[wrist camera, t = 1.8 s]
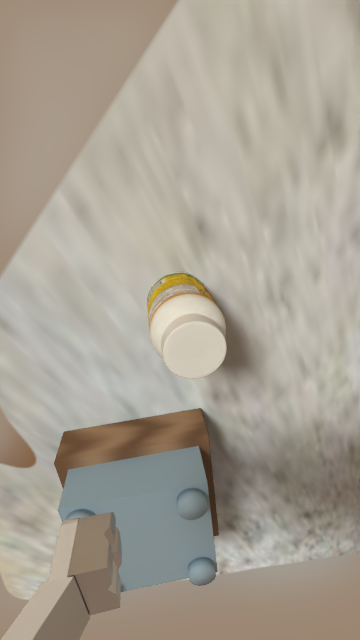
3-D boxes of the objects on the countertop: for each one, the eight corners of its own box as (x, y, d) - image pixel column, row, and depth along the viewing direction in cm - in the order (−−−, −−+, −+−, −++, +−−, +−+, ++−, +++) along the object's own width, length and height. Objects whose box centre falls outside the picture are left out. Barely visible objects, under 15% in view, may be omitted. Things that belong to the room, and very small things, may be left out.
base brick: (200, 408, 33) (208, 435, 29) (211, 502, 38) (218, 535, 35) (63, 431, 32) (54, 463, 28) (94, 524, 38) (89, 561, 34)
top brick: (198, 445, 30) (209, 492, 25) (208, 530, 34) (219, 583, 30) (68, 469, 29) (55, 522, 24) (96, 553, 34) (90, 611, 29)
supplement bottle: (143, 274, 27) (145, 316, 18) (205, 266, 27) (236, 303, 19) (151, 332, 29) (157, 394, 20) (209, 324, 30) (239, 381, 21)
